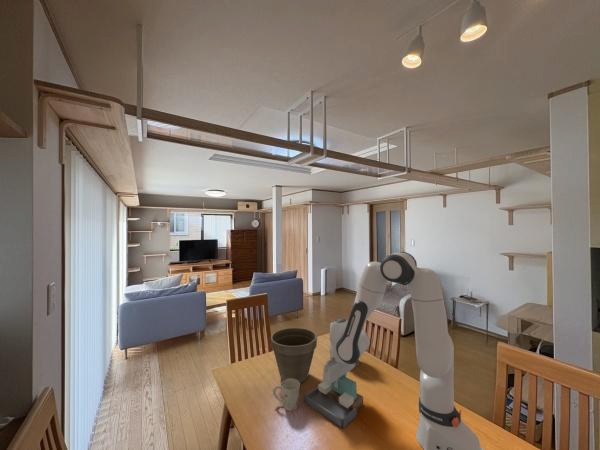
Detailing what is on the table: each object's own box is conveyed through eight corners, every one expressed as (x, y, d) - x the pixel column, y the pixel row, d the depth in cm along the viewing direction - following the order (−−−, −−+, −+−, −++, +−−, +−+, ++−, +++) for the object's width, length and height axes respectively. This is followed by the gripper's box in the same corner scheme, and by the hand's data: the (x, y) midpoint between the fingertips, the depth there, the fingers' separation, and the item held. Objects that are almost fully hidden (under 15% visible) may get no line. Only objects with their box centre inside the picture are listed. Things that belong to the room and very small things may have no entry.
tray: (356, 416, 106) (356, 408, 106) (342, 429, 99) (342, 421, 99) (318, 392, 121) (318, 386, 121) (304, 402, 114) (304, 395, 114)
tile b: (331, 389, 118) (331, 384, 118) (325, 394, 114) (325, 389, 114) (324, 385, 121) (324, 380, 121) (318, 390, 118) (318, 384, 118)
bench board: (363, 404, 113) (363, 396, 113) (353, 413, 107) (353, 405, 107) (331, 386, 126) (331, 379, 126) (321, 394, 120) (321, 386, 120)
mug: (298, 414, 107) (297, 390, 107) (270, 410, 110) (269, 387, 110) (301, 401, 115) (301, 379, 115) (275, 397, 118) (275, 376, 118)
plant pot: (295, 359, 153) (294, 323, 153) (327, 375, 135) (326, 335, 135) (261, 376, 135) (261, 336, 135) (293, 398, 117) (292, 351, 118)
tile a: (353, 402, 109) (353, 396, 109) (347, 408, 106) (347, 402, 106) (345, 397, 112) (344, 392, 112) (339, 403, 109) (338, 397, 109)
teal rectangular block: (356, 397, 111) (356, 382, 111) (353, 401, 109) (352, 385, 109) (329, 382, 123) (328, 368, 123) (325, 385, 121) (324, 370, 120)
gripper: (330, 365, 106) (330, 398, 106) (357, 349, 121) (358, 378, 120) (319, 360, 111) (319, 391, 111) (346, 345, 125) (347, 372, 125)
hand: (339, 384), depth 116 cm, fingers closed on teal rectangular block, 3 cm apart
